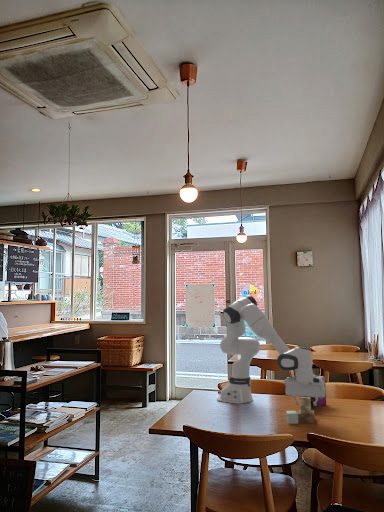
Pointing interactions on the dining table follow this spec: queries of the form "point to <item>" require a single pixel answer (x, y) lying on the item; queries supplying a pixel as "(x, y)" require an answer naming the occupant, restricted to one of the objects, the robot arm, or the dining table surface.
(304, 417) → the walnut pedestal
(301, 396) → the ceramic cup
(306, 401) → the oak block
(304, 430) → the dining table surface
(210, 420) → the dining table surface
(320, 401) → the candy bar box
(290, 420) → the grey green block
